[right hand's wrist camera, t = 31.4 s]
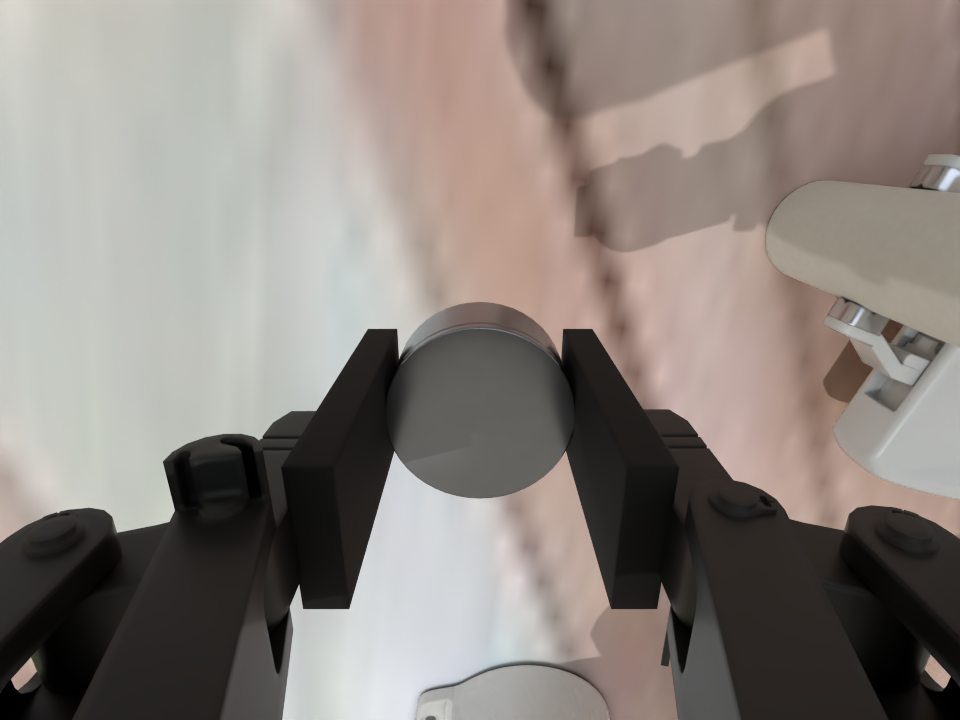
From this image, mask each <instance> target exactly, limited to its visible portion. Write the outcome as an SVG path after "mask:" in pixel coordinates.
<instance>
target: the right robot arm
mask: <svg viewBox="0 0 960 720" xmlns="http://www.w3.org/2000/svg"><path fill="white" fill-rule="evenodd" d="M398 361H399V353H398V336H397V329H368V330H367V332H366V333H365V335H364V336H363V338H362V340H361V341H360V343H359V344H358V346H357V347H356V349H355V351H354V352H353V354H352V355H351V357H350V359H349V360H348V362H347V363H346V365H345V367H344V368H343V370H342V371H341V373H340V374H339V376H338V378H337V379H336V381H335V382H334V384H333V386H332V387H331V389H330V390H329V392H328V393H327V395H326V397H325V398H324V400H323V401H322V403H321V405H320V406H319V408H318V409H317V411H291V412H290V413H288V414H286V415H285V416H283V417H282V418H280V419H278V420H277V421H275V422H274V423H273V424H272V425H271V426H270V427H269V429H268V430H267V431H266V433H265V434H264V435H263V439H260V441H259V440H257V439H256V438H255V437H252V436H248V435H243V434H222V435H216V436H211V437H205V438H202V439H199V440H197V441H194V442H191V443H188V444H186V445H184V446H182V447H181V448H179V449H177V450H175V451H174V452H172V453H171V454H170V455H169V456H168V457H167V458H166V459H165V460H164V461H163V464H164V468H165V472H166V476H167V480H168V484H169V488H170V492H171V496H172V500H173V504H174V508H175V512H174V514H173V516H172V518H171V520H170V522H168V523H164V524H160V525H155V526H150V527H145V528H140V529H135V530H130V531H125V532H120V533H117V531H116V528H115V525H114V521H113V518H112V516H111V515H109V514H108V513H107V512H106V511H104V510H99V509H93V508H84V509H73V510H65V511H60V513H53V514H50V515H47V516H45V517H43V518H42V519H40V520H37V521H35V522H33V523H31V524H28V525H26V526H25V527H23V528H21V529H20V530H18V531H17V532H15V533H14V534H12V535H11V536H9V537H7V538H6V539H5V540H4V541H2V542H1V543H0V720H282V716H283V708H284V700H285V692H286V684H287V676H288V667H289V659H290V651H291V643H292V635H293V626H292V618H291V613H290V604H291V602H292V600H293V597H294V595H295V593H296V590H297V588H298V585H300V591H301V598H302V604H303V609H349V608H350V604H351V601H352V597H353V594H354V590H355V587H356V583H357V580H358V576H359V573H360V569H361V566H362V562H363V559H364V555H365V552H366V548H367V545H368V541H369V538H370V534H371V531H372V527H373V524H374V520H375V517H376V513H377V510H378V506H379V503H380V499H381V496H382V492H383V489H384V485H385V482H386V478H387V475H388V471H389V468H390V464H391V461H392V457H393V454H394V449H393V447H392V445H391V442H390V440H389V437H388V433H387V421H386V406H385V400H386V394H387V391H388V388H389V385H390V382H391V380H392V377H393V374H394V372H395V369H396V367H397V364H398ZM561 361H562V364H563V366H564V369H565V372H566V374H567V377H568V379H569V382H570V384H571V388H572V391H573V394H574V400H575V412H574V426H573V434H572V437H571V440H570V443H569V445H568V447H567V449H566V453H567V456H568V460H569V463H570V467H571V470H572V474H573V477H574V480H575V484H576V487H577V491H578V494H579V498H580V501H581V505H582V508H583V512H584V515H585V519H586V522H587V526H588V529H589V533H590V536H591V540H592V543H593V547H594V550H595V554H596V557H597V561H598V564H599V568H600V571H601V575H602V578H603V582H604V585H605V589H606V592H607V596H608V599H609V603H610V606H611V609H657V606H658V600H659V594H660V587H661V582H662V584H663V586H664V589H665V591H666V594H667V596H668V598H669V601H670V603H671V607H670V613H669V618H668V624H667V630H666V636H665V642H664V648H663V654H662V661H661V665H663V666H668V665H669V659H670V658H671V666H672V674H673V682H674V691H675V699H676V707H677V715H678V720H960V539H959V538H957V537H956V536H955V535H953V534H952V533H950V532H949V531H947V530H946V529H944V528H942V527H941V526H939V525H938V524H936V523H934V522H932V521H930V520H927V519H925V518H923V517H920V516H919V515H918V514H915V513H913V512H910V511H906V510H904V511H903V510H902V509H898V508H893V507H882V506H865V507H859V508H856V509H855V510H854V511H853V512H851V513H850V514H849V516H848V520H847V523H846V526H845V530H844V531H843V530H838V529H833V528H828V527H823V526H818V525H812V524H807V523H802V522H798V521H795V520H791V519H789V517H788V515H787V513H786V511H785V509H784V508H783V507H782V506H781V505H780V503H779V502H778V501H777V500H776V499H775V498H773V497H772V496H771V495H769V494H768V493H766V492H765V491H763V490H761V489H759V488H756V487H754V486H751V485H749V484H746V483H743V482H738V481H734V480H733V479H732V478H731V477H730V475H729V474H728V473H727V471H726V470H725V469H724V468H723V466H722V465H721V464H720V462H719V461H718V460H717V459H716V457H715V456H714V455H713V453H712V452H711V451H710V449H707V446H706V444H705V443H704V442H703V440H702V439H701V438H700V437H698V434H697V433H696V431H695V430H694V429H693V427H692V426H691V425H690V423H689V422H688V421H687V420H685V419H684V418H682V417H680V416H679V415H677V414H675V413H674V412H672V411H671V410H643V409H642V407H641V406H640V404H639V402H638V401H637V399H636V398H635V396H634V394H633V393H632V391H631V390H630V388H629V387H628V385H627V383H626V382H625V380H624V379H623V377H622V375H621V374H620V372H619V371H618V369H617V367H616V366H615V364H614V363H613V361H612V360H611V358H610V356H609V355H608V353H607V352H606V350H605V348H604V347H603V345H602V344H601V342H600V341H599V339H598V337H597V336H596V334H595V333H594V331H593V329H563V342H562V359H561ZM930 654H931V655H932V656H933V657H934V658H935V659H936V661H937V662H938V663H939V664H940V665H941V666H942V667H943V668H944V669H945V670H946V671H947V673H948V674H949V675H950V676H951V678H950V680H949V682H948V684H947V686H946V687H945V688H942V687H941V686H940V685H939V684H937V683H936V682H935V681H934V680H933V679H932V678H931V677H930V675H929V674H928V673H927V672H926V671H925V670H924V669H925V666H926V664H927V662H928V659H929V657H930ZM30 658H32V660H33V663H34V665H35V668H36V670H37V672H36V673H35V675H34V676H33V677H32V678H31V679H30V680H29V681H28V682H27V683H26V684H25V685H24V686H23V687H21V688H20V689H19V690H16V689H15V688H14V685H13V683H12V681H11V678H12V677H13V676H14V675H15V674H16V673H17V672H18V671H19V670H20V668H21V667H22V666H23V665H24V664H25V663H26V662H27V661H28V660H29V659H30Z"/></svg>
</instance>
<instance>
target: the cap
mask: <svg viewBox="0 0 960 720" xmlns="http://www.w3.org/2000/svg"><path fill="white" fill-rule="evenodd" d="M385 406H386V421H387V433H388V437H389V440H390V442H391V445H392V447H393V449H394V451H395V452H396V454H397V456H398V457H399V459H400V460H401V461H402V463H403V464H404V465H405V466H406V467H407V469H409V470H410V471H411V472H412V473H413V474H414V475H415V476H416V477H418V478H419V479H420V480H422V481H423V482H425V483H426V484H428V485H430V486H432V487H434V488H436V489H438V490H440V491H443V492H445V493H449V494H452V495H456V496H461V497H467V498H493V497H499V496H504V495H508V494H511V493H515V492H517V491H520V490H522V489H525V488H526V487H528V486H530V485H532V484H534V483H535V482H537V481H538V480H540V479H541V478H542V477H544V476H545V475H546V474H547V473H548V472H549V471H550V470H551V469H553V467H554V466H555V465H556V464H557V463H558V461H559V460H560V459H561V457H562V456H563V454H564V453H565V451H566V449H567V447H568V445H569V443H570V440H571V437H572V434H573V426H574V412H575V400H574V394H573V391H572V388H571V384H570V382H569V379H568V377H567V374H566V372H565V369H564V366H563V364H562V361H561V359H560V356H559V354H558V351H557V349H556V347H555V345H554V343H553V341H552V340H551V338H550V337H549V335H548V334H547V333H546V332H545V331H544V330H543V328H542V327H541V326H540V325H539V324H537V323H536V322H535V321H534V320H533V319H531V318H530V317H528V316H527V315H525V314H524V313H522V312H519V311H517V310H515V309H513V308H510V307H507V306H504V305H500V304H495V303H486V302H474V303H465V304H460V305H456V306H453V307H450V308H447V309H445V310H443V311H441V312H439V313H436V314H435V315H433V316H432V317H430V318H429V319H427V320H426V321H425V322H424V323H423V324H422V325H420V326H419V327H418V328H417V330H416V331H415V332H414V333H413V334H412V335H411V337H410V339H409V340H408V342H407V343H406V345H405V347H404V349H403V351H402V354H401V356H400V359H399V361H398V364H397V367H396V369H395V372H394V374H393V377H392V380H391V382H390V385H389V388H388V391H387V394H386V400H385Z"/></svg>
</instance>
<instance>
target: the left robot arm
mask: <svg viewBox="0 0 960 720" xmlns="http://www.w3.org/2000/svg"><path fill="white" fill-rule="evenodd" d="M910 188H913V189H924V190H934V191H944V192H954V193H960V156H958V155H954V154H929V155H928V157H927V159H926V160H925V162H924V163H923V166H922V167H921V168H920V170H919V172H918V173H917V175H916V177H915V178H914V180H913V182H912V183H911V185H910ZM889 320H890V319H889V318H887V317H884V316H882V315H880V314H877V313H875V312H872V311H870V310H869V309H867V308H865V307H862V306H860V305H858V304H855V303H852V302H850V301H848V300H846V299H843V298H840V297H839V298H838V299H837V301H836V302H835V304H834V306H833V307H832V309H831V310H830V312H829V313H828V315H827V317H826V318H825V320H824V321H823V323H822V324H824V325H826V326H828V327H830V328H832V329H834V330H835V331H838V332H840V333H842V334H844V335H846V336H848V338H849V339H850V341H851V343H852V345H853V346H854V348H855V350H856V352H857V353H858V355H859V357H860V359H861V360H862V362H863V363H865V364H867V365H869V366H871V367H872V368H873V370H872V371H871V373H870V374H869V375H868V377H867V378H866V380H865V381H864V383H863V384H862V386H861V387H860V388H859V390H858V391H857V393H856V394H855V396H854V397H853V399H852V400H851V401H850V403H849V404H848V406H847V407H846V409H845V410H844V412H843V413H842V414H841V416H840V417H839V419H838V420H837V421H836V423H835V425H834V426H833V434H834V437H835V439H836V441H837V443H838V445H839V447H840V449H841V450H842V451H843V452H844V453H845V454H846V455H847V456H849V457H850V458H851V459H852V460H853V461H854V462H856V463H857V464H858V465H860V466H861V467H862V468H864V469H865V470H866V471H868V472H869V473H871V474H872V475H874V476H876V477H878V478H880V479H882V480H885V481H888V482H890V483H893V484H896V485H899V486H902V487H906V488H909V489H913V490H917V491H920V492H924V493H928V494H933V495H937V496H942V497H947V498H952V499H957V500H960V348H958V347H956V346H953V345H951V344H948V343H946V342H944V341H941V340H939V339H937V338H934V337H932V336H929V335H927V334H925V333H922V332H920V331H918V330H915V329H913V328H910V327H908V326H906V325H903V326H902V328H901V329H900V331H899V332H898V334H897V335H896V337H895V338H894V339H893V341H892V342H891V343H889V342H887V341H886V340H885V338H884V337H883V335H882V334H881V333H882V331H883V330H884V328H885V327H886V325H887V324H888V322H889ZM415 720H610V715H609V710H608V707H607V704H606V702H605V700H604V699H603V697H602V696H601V694H600V693H599V692H598V691H597V690H596V689H595V688H594V687H593V686H592V685H591V684H589V683H588V682H586V681H585V680H583V679H582V678H580V677H578V676H576V675H574V674H571V673H569V672H566V671H563V670H560V669H556V668H552V667H546V666H537V665H518V666H509V667H503V668H498V669H494V670H491V671H488V672H485V673H482V674H480V675H478V676H475V677H473V678H472V679H470V680H468V681H466V682H464V683H462V684H459V685H457V686H453V687H447V688H440V689H435V690H431V691H427V692H425V693H423V694H422V695H421V696H420V697H419V699H418V704H417V710H416V716H415Z"/></svg>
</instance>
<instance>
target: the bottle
mask: <svg viewBox="0 0 960 720" xmlns="http://www.w3.org/2000/svg"><path fill="white" fill-rule="evenodd" d="M766 249H767V253H768V256H769V258H770V260H771V262H772V264H773V265H774V266H775V267H776V268H777V269H778V270H779V271H780V272H781V273H783V274H785V275H787V276H789V277H792V278H794V279H796V280H799V281H801V282H803V283H806V284H808V285H811V286H813V287H815V288H818V289H820V290H822V291H825V292H827V293H830V294H832V295H834V296H837V297H840V298H843V299H846V300H848V301H850V302H852V303H855V304H858V305H860V306H862V307H865V308H867V309H869V310H870V311H872V312H875V313H877V314H880V315H882V316H884V317H887V318H889V319H891V320H894V321H896V322H899V323H901V324H903V325H906V326H908V327H910V328H913V329H915V330H918V331H920V332H922V333H925V334H927V335H929V336H932V337H934V338H937V339H939V340H941V341H944V342H946V343H948V344H951V345H953V346H956V347H958V348H960V193H954V192H944V191H934V190H924V189H913V188H903V187H893V186H883V185H873V184H863V183H852V182H842V181H832V180H821V181H815V182H812V183H809V184H806V185H804V186H802V187H800V188H798V189H796V190H795V191H794V192H792V193H791V194H789V195H788V196H787V197H786V198H785V199H784V200H783V201H782V202H781V203H780V204H779V206H778V207H777V209H776V210H775V211H774V213H773V215H772V217H771V219H770V222H769V224H768V228H767V232H766Z"/></svg>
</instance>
